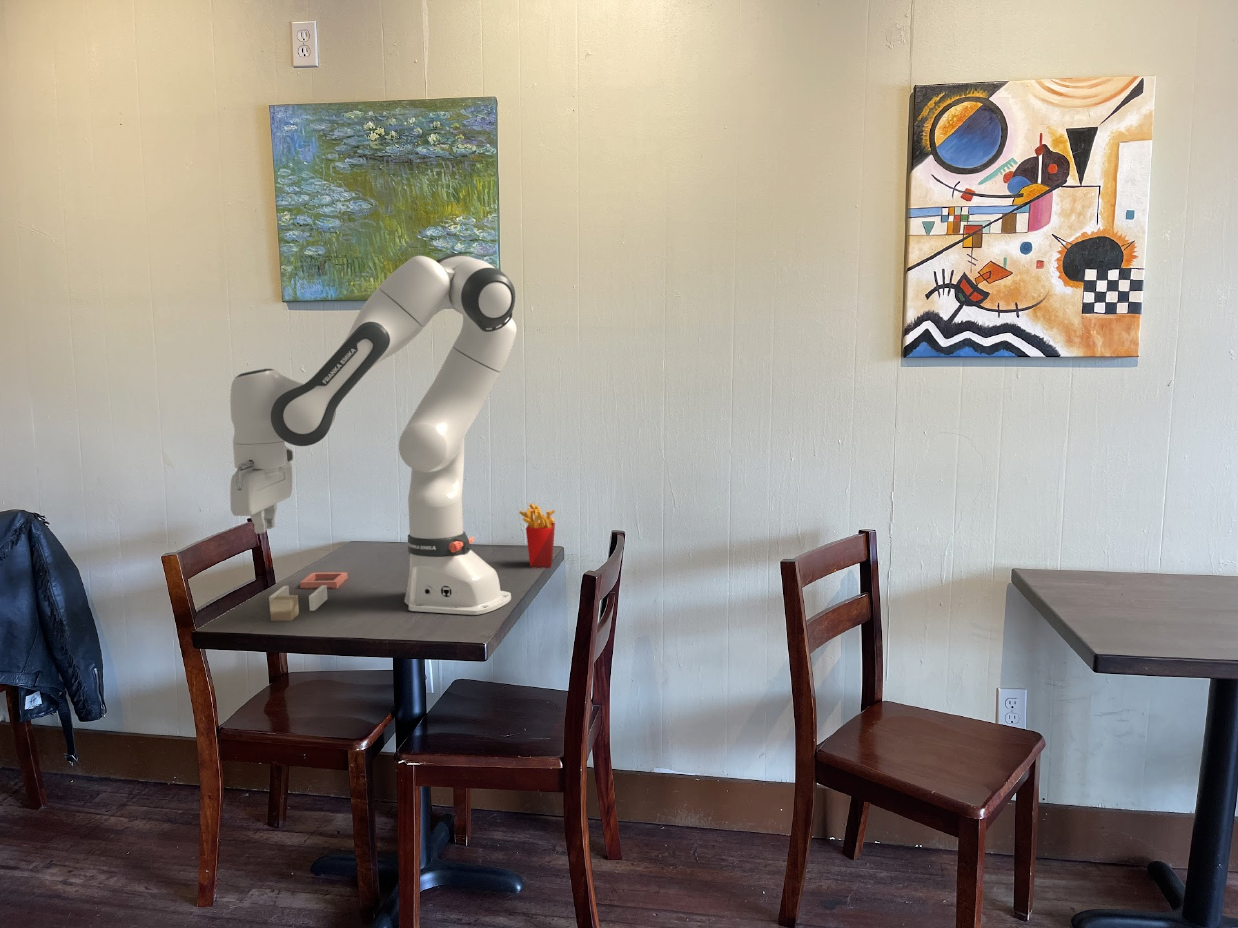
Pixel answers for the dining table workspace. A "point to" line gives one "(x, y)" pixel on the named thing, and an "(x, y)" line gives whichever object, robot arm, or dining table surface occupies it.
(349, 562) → the dining table surface
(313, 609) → the walled lane
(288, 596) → the beech block
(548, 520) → the french fries
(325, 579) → the frame
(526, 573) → the dining table surface
